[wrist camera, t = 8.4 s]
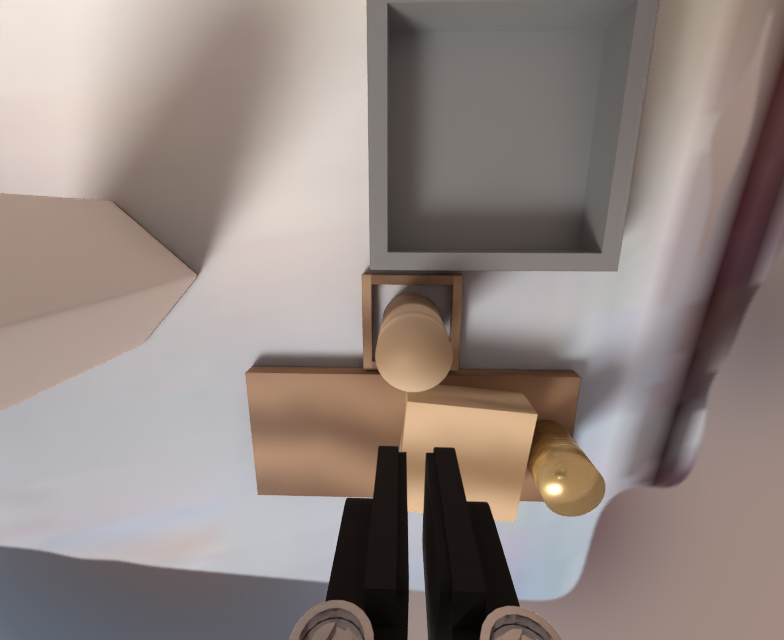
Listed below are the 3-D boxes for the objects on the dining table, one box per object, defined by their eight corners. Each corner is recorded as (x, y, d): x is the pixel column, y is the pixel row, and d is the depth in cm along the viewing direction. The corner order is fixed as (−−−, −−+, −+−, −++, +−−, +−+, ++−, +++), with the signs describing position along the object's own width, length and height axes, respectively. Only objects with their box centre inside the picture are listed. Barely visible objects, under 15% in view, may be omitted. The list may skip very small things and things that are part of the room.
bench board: (252, 366, 27) (245, 372, 26) (573, 370, 27) (580, 377, 25) (263, 484, 30) (258, 494, 29) (556, 490, 29) (563, 501, 28)
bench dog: (520, 419, 26) (545, 463, 22) (571, 419, 26) (609, 464, 21) (515, 463, 27) (539, 515, 22) (565, 464, 27) (600, 517, 22)
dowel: (382, 292, 26) (374, 318, 19) (441, 293, 26) (454, 319, 19) (382, 348, 27) (375, 391, 20) (439, 348, 27) (451, 392, 20)
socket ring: (363, 273, 25) (361, 275, 25) (461, 274, 25) (463, 275, 24) (364, 365, 27) (363, 369, 26) (456, 366, 27) (458, 370, 26)
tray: (372, 17, 22) (366, -22, 18) (620, 14, 21) (663, -27, 18) (374, 263, 25) (369, 269, 22) (587, 264, 25) (617, 271, 21)
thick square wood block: (407, 381, 26) (407, 401, 23) (522, 392, 26) (537, 414, 23) (396, 480, 28) (395, 510, 25) (503, 491, 28) (514, 522, 25)
